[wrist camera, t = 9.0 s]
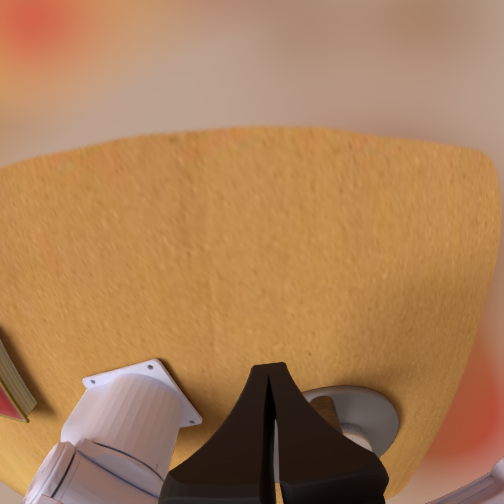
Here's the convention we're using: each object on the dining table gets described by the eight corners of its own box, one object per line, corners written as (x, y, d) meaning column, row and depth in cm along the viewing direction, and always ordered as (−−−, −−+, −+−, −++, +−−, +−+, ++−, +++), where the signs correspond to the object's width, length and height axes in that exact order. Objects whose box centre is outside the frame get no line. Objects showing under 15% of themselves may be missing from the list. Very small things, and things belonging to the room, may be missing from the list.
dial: (365, 462, 25) (378, 506, 19) (284, 478, 26) (288, 526, 19) (371, 369, 21) (399, 426, 15) (259, 393, 22) (260, 458, 15)
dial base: (275, 488, 28) (275, 496, 27) (214, 417, 24) (212, 427, 23) (400, 447, 27) (403, 455, 25) (385, 359, 23) (390, 368, 21)
